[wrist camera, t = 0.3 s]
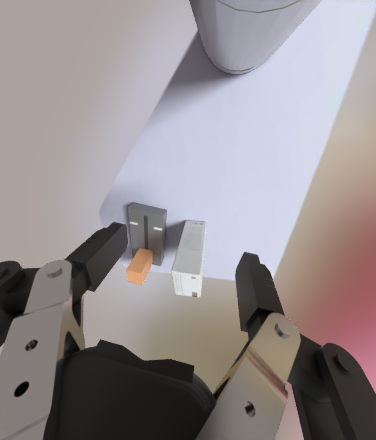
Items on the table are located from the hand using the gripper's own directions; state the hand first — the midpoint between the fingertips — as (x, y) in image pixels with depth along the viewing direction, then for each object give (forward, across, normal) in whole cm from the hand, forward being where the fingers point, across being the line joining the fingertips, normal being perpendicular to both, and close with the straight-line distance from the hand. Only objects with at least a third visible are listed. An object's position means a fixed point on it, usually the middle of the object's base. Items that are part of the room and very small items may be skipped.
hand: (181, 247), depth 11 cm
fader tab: (+17, +9, +20) cm, 28 cm away
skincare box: (+18, -1, +12) cm, 22 cm away
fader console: (+18, +9, +16) cm, 26 cm away
